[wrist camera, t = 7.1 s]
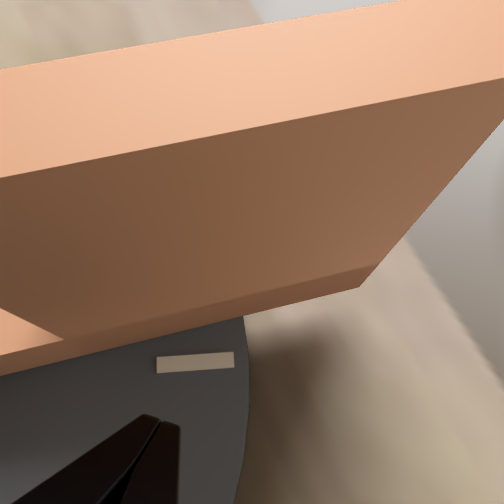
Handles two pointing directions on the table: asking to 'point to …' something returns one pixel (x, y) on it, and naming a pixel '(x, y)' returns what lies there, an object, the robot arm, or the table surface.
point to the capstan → (230, 168)
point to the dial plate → (133, 408)
